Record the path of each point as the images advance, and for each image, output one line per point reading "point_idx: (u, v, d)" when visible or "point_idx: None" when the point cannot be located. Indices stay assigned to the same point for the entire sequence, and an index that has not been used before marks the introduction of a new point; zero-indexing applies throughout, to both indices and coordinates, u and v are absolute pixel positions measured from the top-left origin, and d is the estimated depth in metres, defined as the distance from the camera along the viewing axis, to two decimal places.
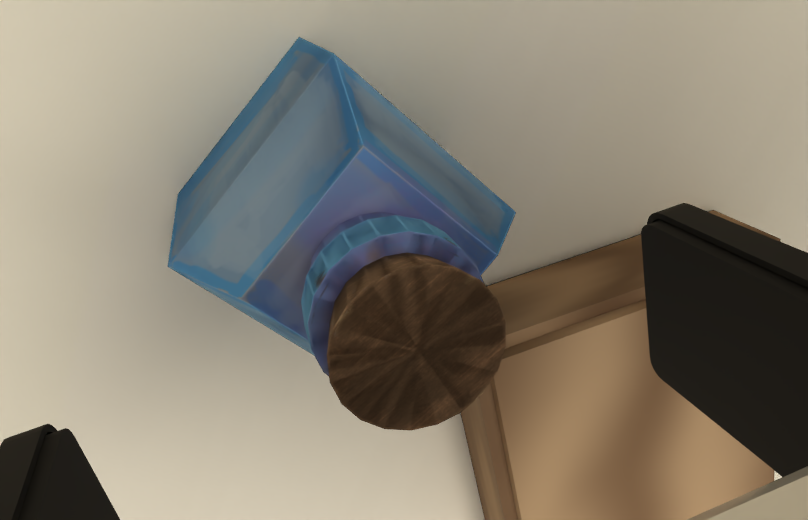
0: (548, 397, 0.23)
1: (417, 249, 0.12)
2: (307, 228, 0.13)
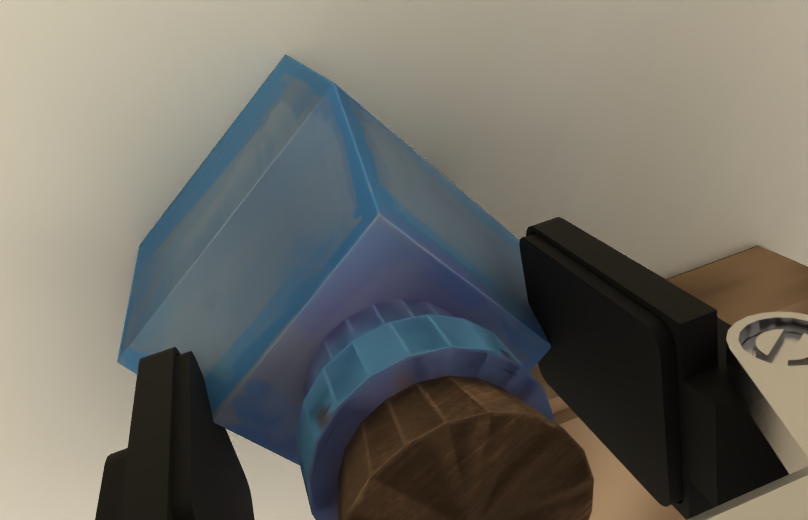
0: None
1: (462, 370, 0.08)
2: (302, 326, 0.10)
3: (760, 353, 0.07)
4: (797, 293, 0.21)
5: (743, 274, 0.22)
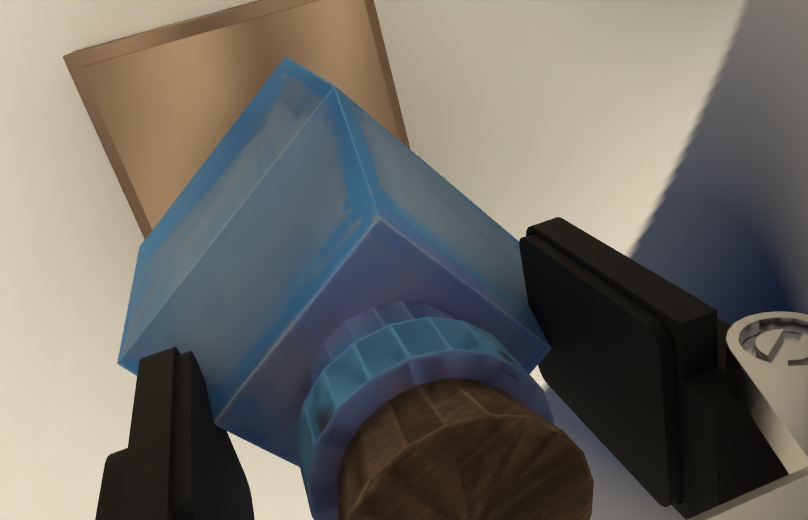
0: (151, 109, 0.26)
1: (462, 373, 0.08)
2: (302, 328, 0.10)
3: (760, 353, 0.07)
4: None
5: None
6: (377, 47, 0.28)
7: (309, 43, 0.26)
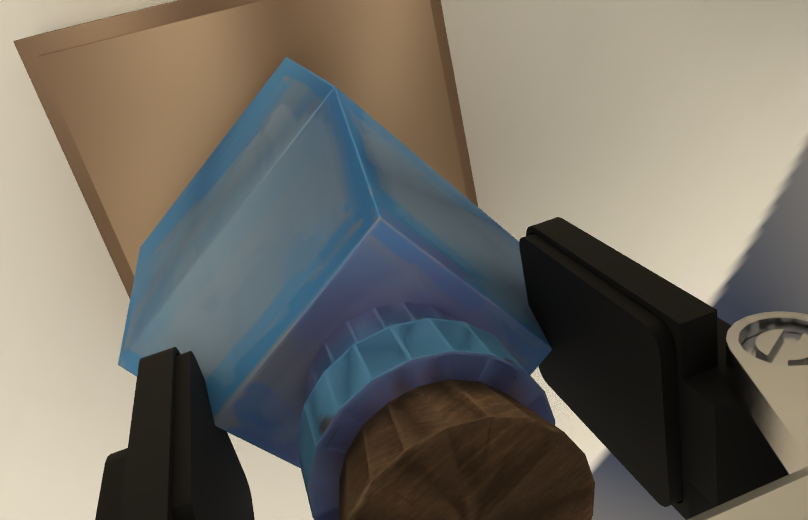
0: (134, 116, 0.19)
1: (463, 374, 0.08)
2: (303, 329, 0.10)
3: (760, 353, 0.07)
4: None
5: None
6: (437, 40, 0.21)
7: (350, 33, 0.20)
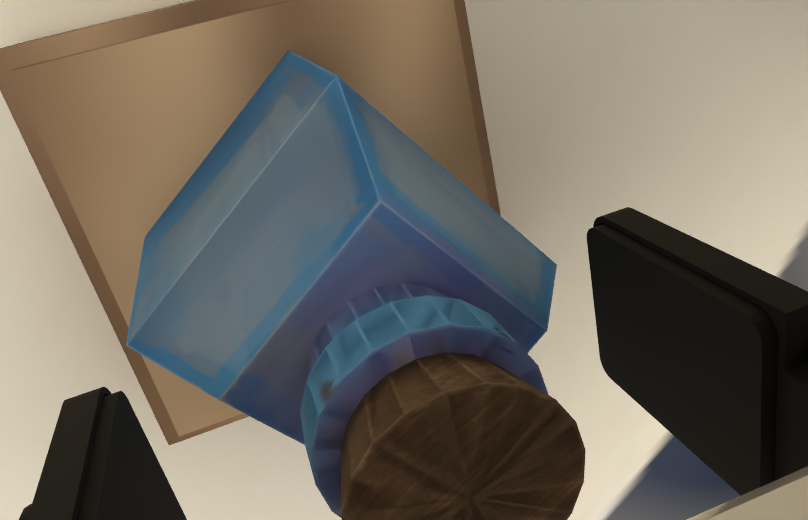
0: (122, 138, 0.17)
1: (460, 347, 0.09)
2: (306, 307, 0.10)
3: None
4: None
5: None
6: (461, 50, 0.19)
7: (364, 42, 0.18)
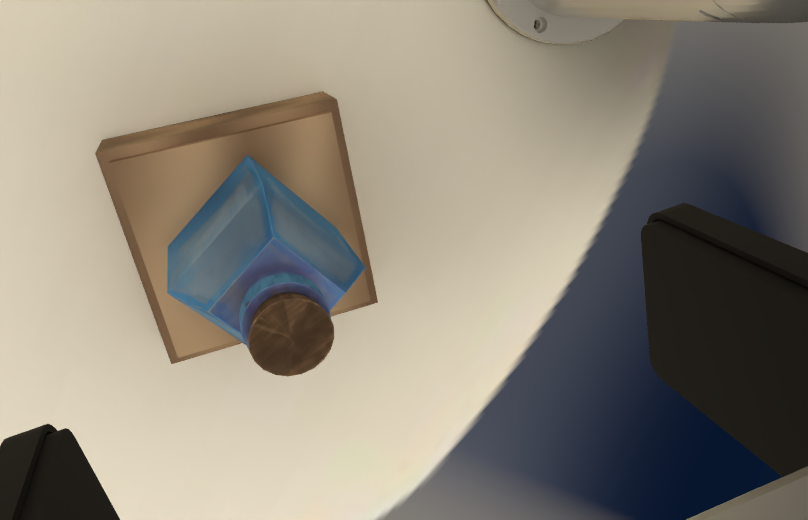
0: (160, 196, 0.33)
1: (294, 290, 0.25)
2: (243, 277, 0.26)
3: None
4: (308, 104, 0.34)
5: (296, 101, 0.36)
6: (341, 154, 0.35)
7: (287, 151, 0.34)
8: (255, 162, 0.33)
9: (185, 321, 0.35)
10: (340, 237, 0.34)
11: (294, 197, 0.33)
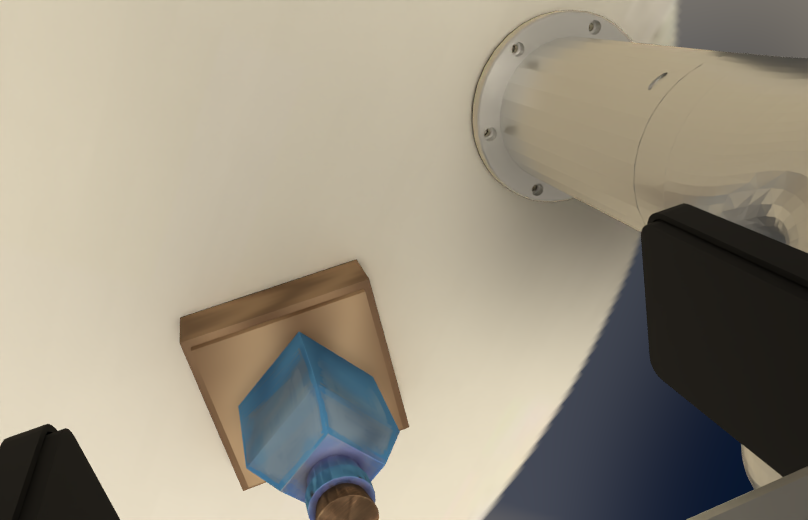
0: (231, 370, 0.41)
1: (347, 481, 0.33)
2: (306, 464, 0.34)
3: None
4: (346, 284, 0.42)
5: (335, 274, 0.43)
6: (374, 319, 0.43)
7: (331, 324, 0.42)
8: (305, 338, 0.41)
9: None
10: (377, 395, 0.41)
11: (338, 366, 0.41)
